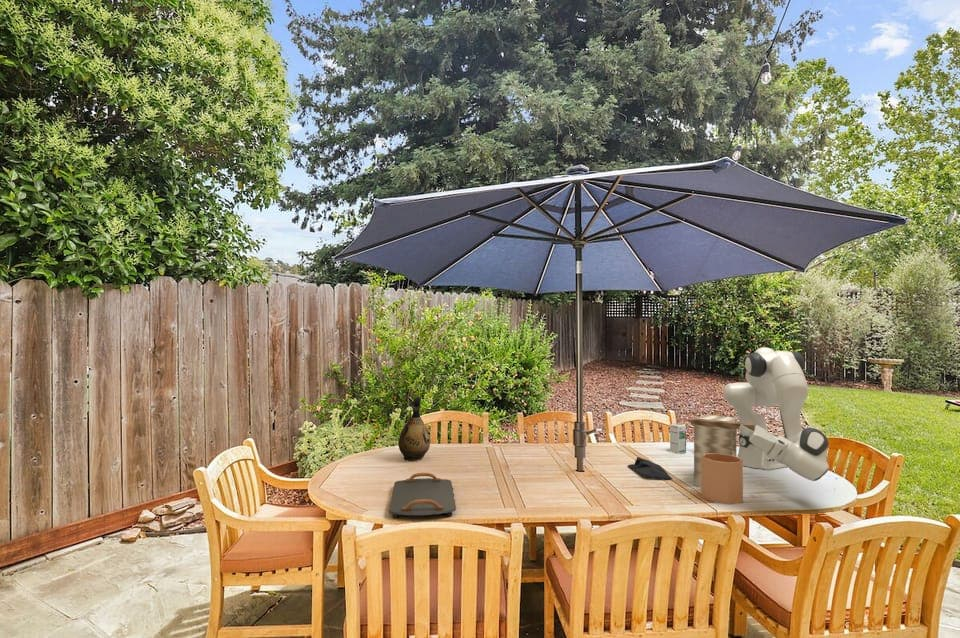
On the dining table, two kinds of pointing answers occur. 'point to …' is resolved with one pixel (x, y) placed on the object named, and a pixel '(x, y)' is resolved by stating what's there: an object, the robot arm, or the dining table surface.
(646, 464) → the black cloth
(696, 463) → the zigzag patterned cylinder
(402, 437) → the ceramic jug
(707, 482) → the pot
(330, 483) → the dining table surface
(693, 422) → the slat
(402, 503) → the serving board
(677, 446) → the syrup box
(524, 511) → the dining table surface
